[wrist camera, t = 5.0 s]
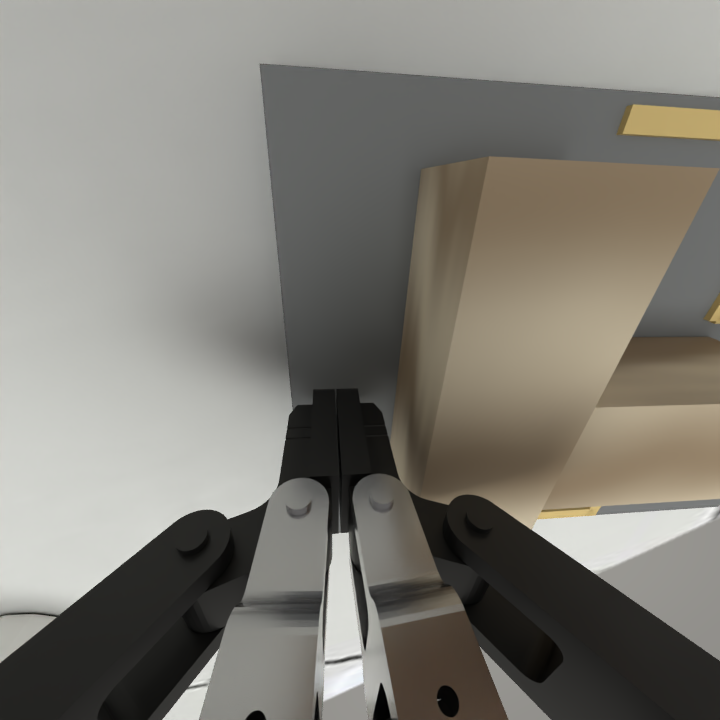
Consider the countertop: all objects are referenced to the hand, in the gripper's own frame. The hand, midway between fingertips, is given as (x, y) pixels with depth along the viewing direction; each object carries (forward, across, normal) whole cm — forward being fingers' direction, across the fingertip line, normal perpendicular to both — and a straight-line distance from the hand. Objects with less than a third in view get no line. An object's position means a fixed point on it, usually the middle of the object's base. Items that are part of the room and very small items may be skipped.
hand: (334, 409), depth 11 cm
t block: (+1, -8, 0) cm, 8 cm away
